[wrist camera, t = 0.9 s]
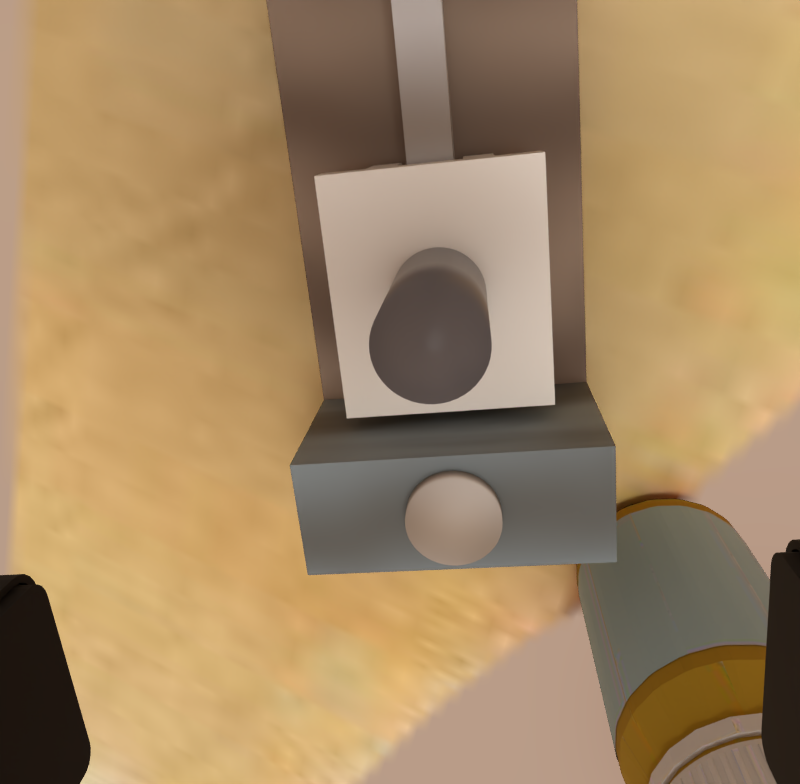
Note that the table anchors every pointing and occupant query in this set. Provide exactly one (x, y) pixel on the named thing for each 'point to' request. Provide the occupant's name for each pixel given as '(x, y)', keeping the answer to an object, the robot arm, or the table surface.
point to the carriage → (440, 284)
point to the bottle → (680, 646)
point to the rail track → (574, 404)
